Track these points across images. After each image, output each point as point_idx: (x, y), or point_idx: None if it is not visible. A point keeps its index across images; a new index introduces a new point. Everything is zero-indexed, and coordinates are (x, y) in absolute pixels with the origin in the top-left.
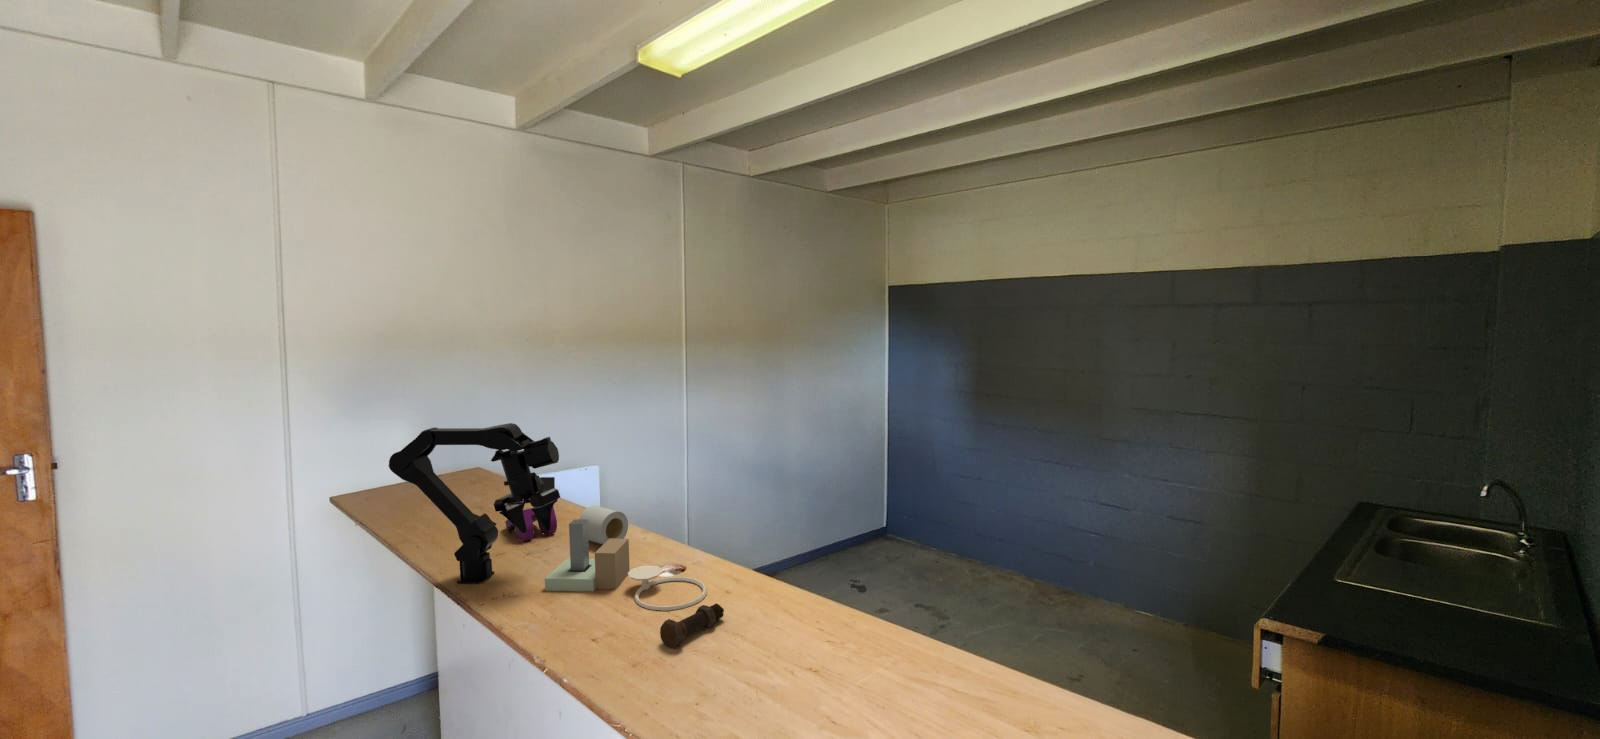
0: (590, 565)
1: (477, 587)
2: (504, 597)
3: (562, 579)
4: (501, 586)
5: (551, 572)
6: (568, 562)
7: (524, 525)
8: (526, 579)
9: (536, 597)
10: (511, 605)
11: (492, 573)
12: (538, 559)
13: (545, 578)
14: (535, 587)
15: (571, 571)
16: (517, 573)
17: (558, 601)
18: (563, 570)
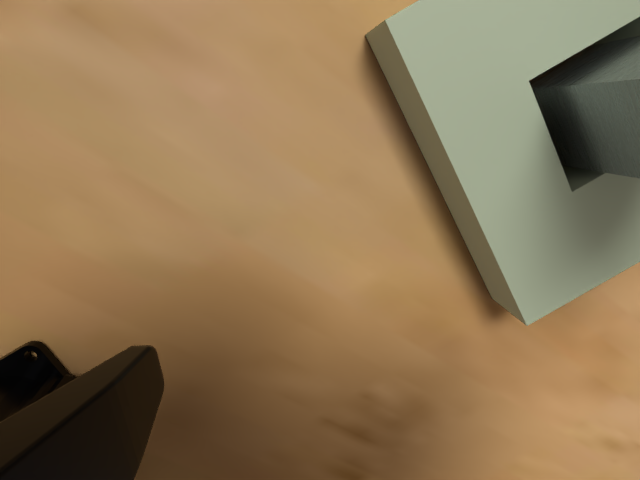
0: (627, 22)
1: (159, 468)
2: (384, 444)
3: (619, 270)
4: (253, 396)
5: (495, 254)
6: (460, 78)
7: (112, 414)
8: (282, 275)
9: (515, 362)
10: (482, 461)
11: (51, 360)
12: (20, 27)
13: (530, 322)
14: (417, 305)
15: (583, 165)
16: (152, 257)
17: (635, 328)
18: (537, 192)
